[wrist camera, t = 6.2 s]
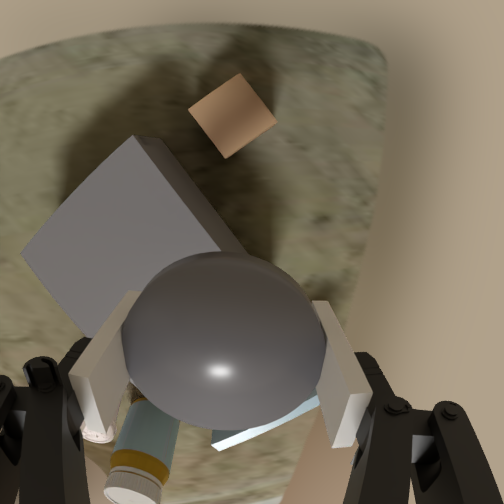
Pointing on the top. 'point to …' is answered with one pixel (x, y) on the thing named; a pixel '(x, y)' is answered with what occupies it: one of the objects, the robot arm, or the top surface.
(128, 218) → the housing
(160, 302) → the disc
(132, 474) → the bottle
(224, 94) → the block
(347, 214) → the top surface
